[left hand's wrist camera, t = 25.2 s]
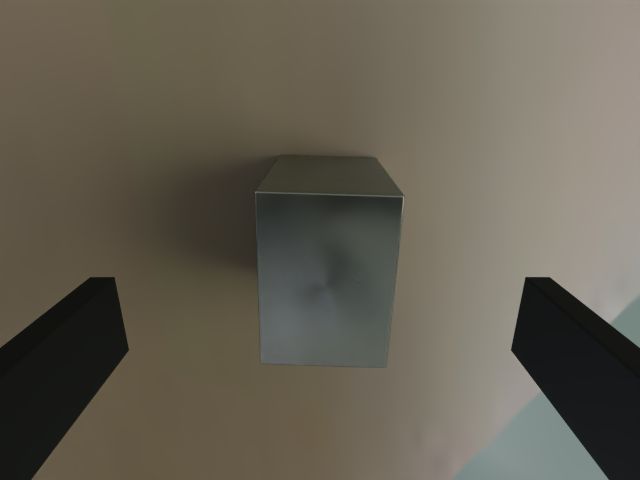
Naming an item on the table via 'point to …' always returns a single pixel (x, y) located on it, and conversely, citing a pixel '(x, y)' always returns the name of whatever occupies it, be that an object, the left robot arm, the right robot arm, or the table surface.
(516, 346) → the left robot arm
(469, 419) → the table surface
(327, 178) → the brick
